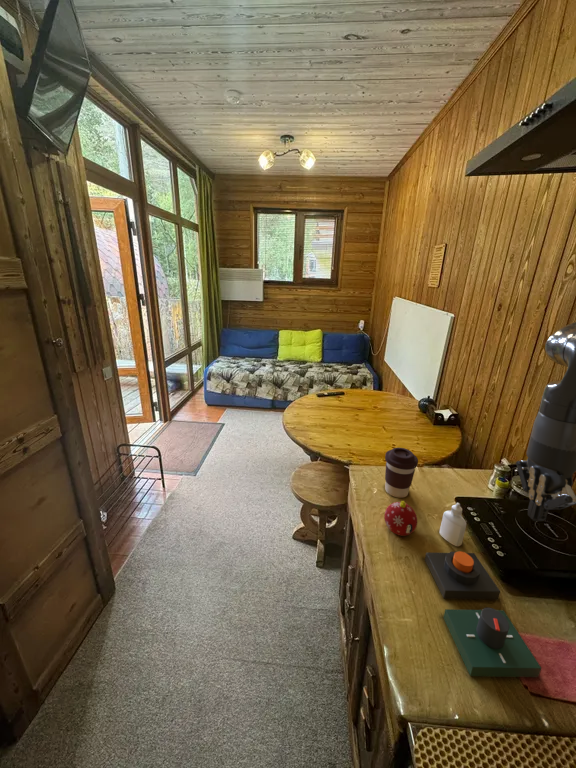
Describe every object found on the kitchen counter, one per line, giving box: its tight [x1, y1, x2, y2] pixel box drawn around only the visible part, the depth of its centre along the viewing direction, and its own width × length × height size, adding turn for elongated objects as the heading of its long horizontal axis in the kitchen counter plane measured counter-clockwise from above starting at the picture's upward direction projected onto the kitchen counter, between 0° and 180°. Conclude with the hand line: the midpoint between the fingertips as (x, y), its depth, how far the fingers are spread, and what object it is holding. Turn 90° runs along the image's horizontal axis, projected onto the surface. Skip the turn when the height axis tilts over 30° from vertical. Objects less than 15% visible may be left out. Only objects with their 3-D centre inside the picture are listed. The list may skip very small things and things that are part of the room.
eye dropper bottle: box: [438, 502, 467, 547], centre depth 82 cm, size 4×6×12 cm
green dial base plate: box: [443, 608, 542, 678], centre depth 58 cm, size 12×10×3 cm
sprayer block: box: [424, 551, 501, 600], centre depth 71 cm, size 12×10×5 cm
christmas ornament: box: [384, 500, 418, 537], centre depth 85 cm, size 9×9×10 cm
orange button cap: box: [453, 551, 474, 573], centre depth 70 cm, size 4×4×2 cm
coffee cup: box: [384, 447, 419, 499], centre depth 100 cm, size 10×10×15 cm
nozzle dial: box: [476, 607, 509, 649], centre depth 57 cm, size 4×4×5 cm
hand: (535, 518), depth 60 cm, fingers closed
